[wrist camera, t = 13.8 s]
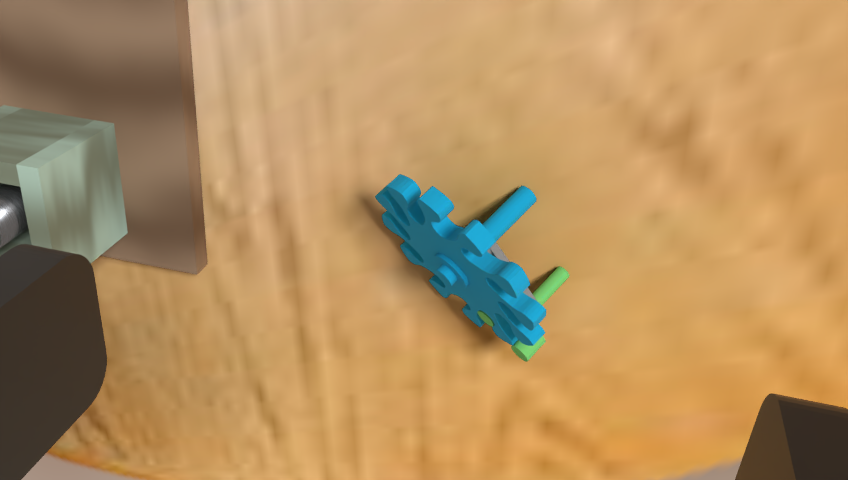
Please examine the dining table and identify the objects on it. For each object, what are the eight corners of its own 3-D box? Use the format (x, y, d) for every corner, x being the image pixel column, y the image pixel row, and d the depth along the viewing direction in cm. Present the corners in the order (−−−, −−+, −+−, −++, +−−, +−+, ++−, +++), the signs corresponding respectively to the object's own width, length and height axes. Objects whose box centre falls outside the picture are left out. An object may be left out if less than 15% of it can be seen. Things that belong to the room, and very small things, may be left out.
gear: (337, 187, 39) (435, 207, 30) (422, 111, 41) (538, 109, 32) (458, 342, 44) (574, 398, 35) (531, 268, 45) (659, 304, 36)
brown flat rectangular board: (-104, -198, 37) (-125, -198, 36) (174, -174, 35) (159, -173, 34) (-10, 222, 48) (-24, 231, 47) (207, 264, 45) (197, 274, 44)
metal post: (46, 147, 43) (-71, 214, 36) (87, 154, 42) (-24, 223, 35) (54, 188, 44) (-59, 260, 37) (93, 195, 44) (-13, 270, 37)
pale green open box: (3, 105, 42) (-86, 146, 37) (114, 123, 41) (37, 168, 36) (24, 213, 45) (-55, 265, 40) (127, 233, 44) (59, 289, 39)
